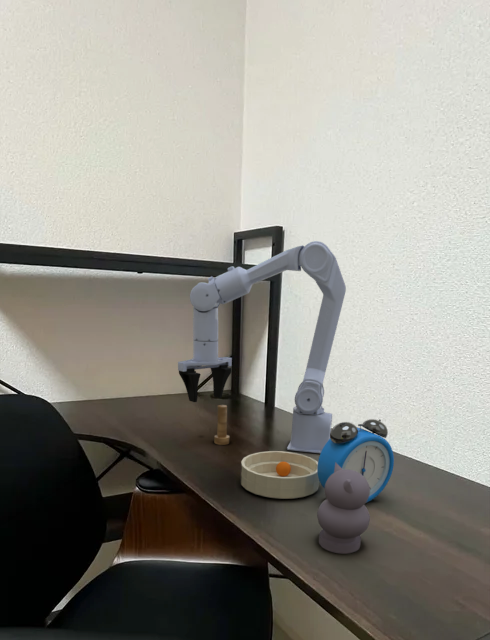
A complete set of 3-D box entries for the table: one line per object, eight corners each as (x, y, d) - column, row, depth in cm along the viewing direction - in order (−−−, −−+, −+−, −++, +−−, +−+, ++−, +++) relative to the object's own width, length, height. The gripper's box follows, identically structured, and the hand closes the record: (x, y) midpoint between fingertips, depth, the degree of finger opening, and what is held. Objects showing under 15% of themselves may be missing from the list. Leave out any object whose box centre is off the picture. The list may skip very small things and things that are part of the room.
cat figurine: (373, 556, 77) (385, 481, 72) (321, 558, 76) (330, 482, 71) (356, 530, 84) (365, 461, 80) (309, 531, 83) (315, 461, 79)
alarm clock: (331, 512, 91) (341, 429, 85) (312, 498, 96) (319, 419, 90) (389, 500, 96) (401, 422, 90) (368, 488, 101) (378, 413, 95)
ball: (291, 474, 106) (292, 460, 104) (289, 479, 103) (290, 465, 102) (276, 472, 106) (277, 458, 105) (274, 477, 103) (275, 463, 102)
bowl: (321, 476, 107) (323, 455, 105) (314, 505, 93) (316, 482, 91) (250, 468, 109) (250, 448, 107) (232, 495, 96) (232, 472, 94)
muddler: (230, 441, 126) (231, 404, 123) (227, 445, 123) (227, 408, 119) (216, 439, 127) (217, 403, 123) (212, 444, 124) (212, 406, 120)
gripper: (218, 336, 125) (217, 392, 131) (169, 339, 116) (170, 399, 121) (238, 339, 121) (236, 397, 126) (188, 343, 111) (189, 405, 117)
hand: (205, 399), depth 123 cm, fingers open, 7 cm apart
